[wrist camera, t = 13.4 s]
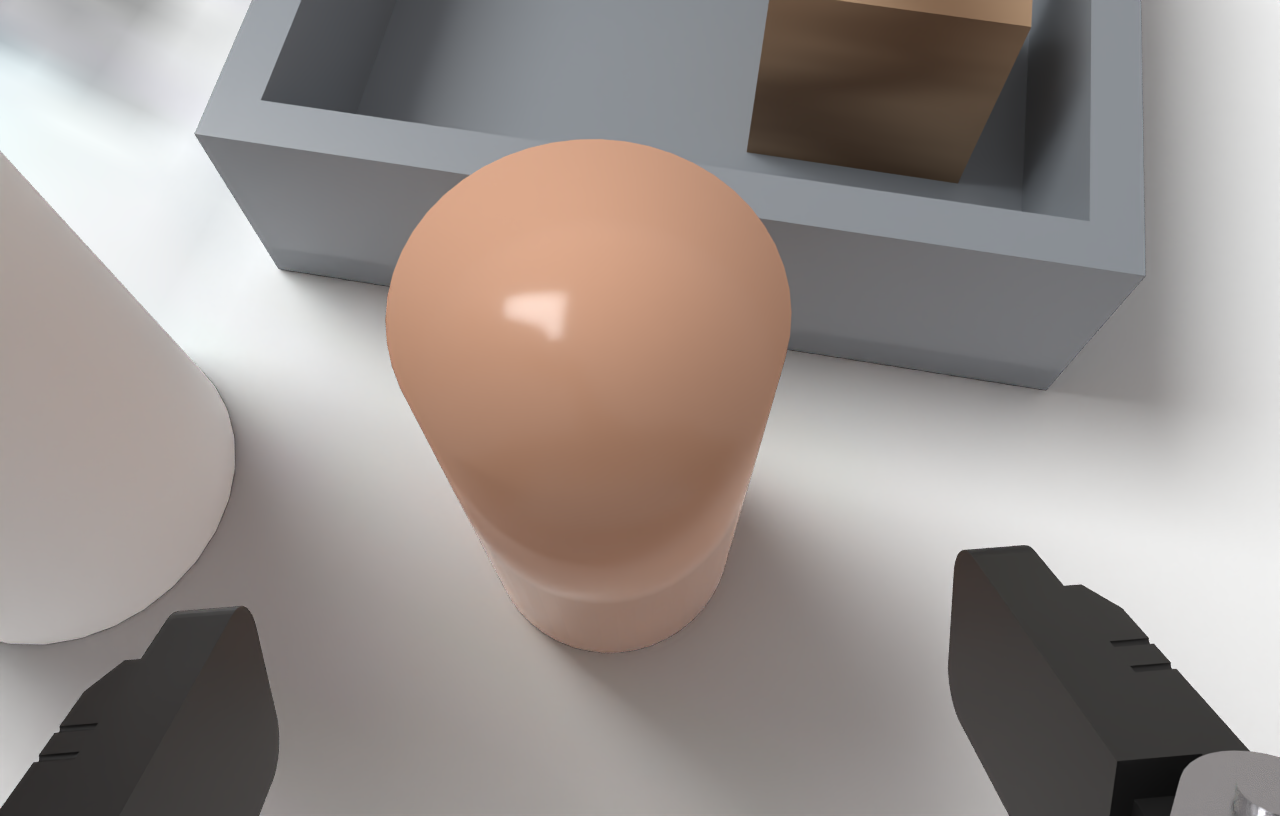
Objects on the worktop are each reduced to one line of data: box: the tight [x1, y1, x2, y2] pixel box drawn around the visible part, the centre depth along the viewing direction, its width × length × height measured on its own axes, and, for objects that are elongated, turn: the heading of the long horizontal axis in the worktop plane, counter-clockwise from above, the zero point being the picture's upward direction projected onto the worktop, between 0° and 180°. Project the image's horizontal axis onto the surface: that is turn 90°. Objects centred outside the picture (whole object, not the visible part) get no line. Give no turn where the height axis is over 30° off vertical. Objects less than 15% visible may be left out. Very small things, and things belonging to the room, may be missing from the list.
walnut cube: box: [747, 0, 1033, 184], centre depth 23 cm, size 5×5×5 cm
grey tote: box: [195, 0, 1146, 390], centre depth 24 cm, size 18×14×5 cm
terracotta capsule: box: [386, 139, 792, 653], centre depth 17 cm, size 5×5×10 cm
